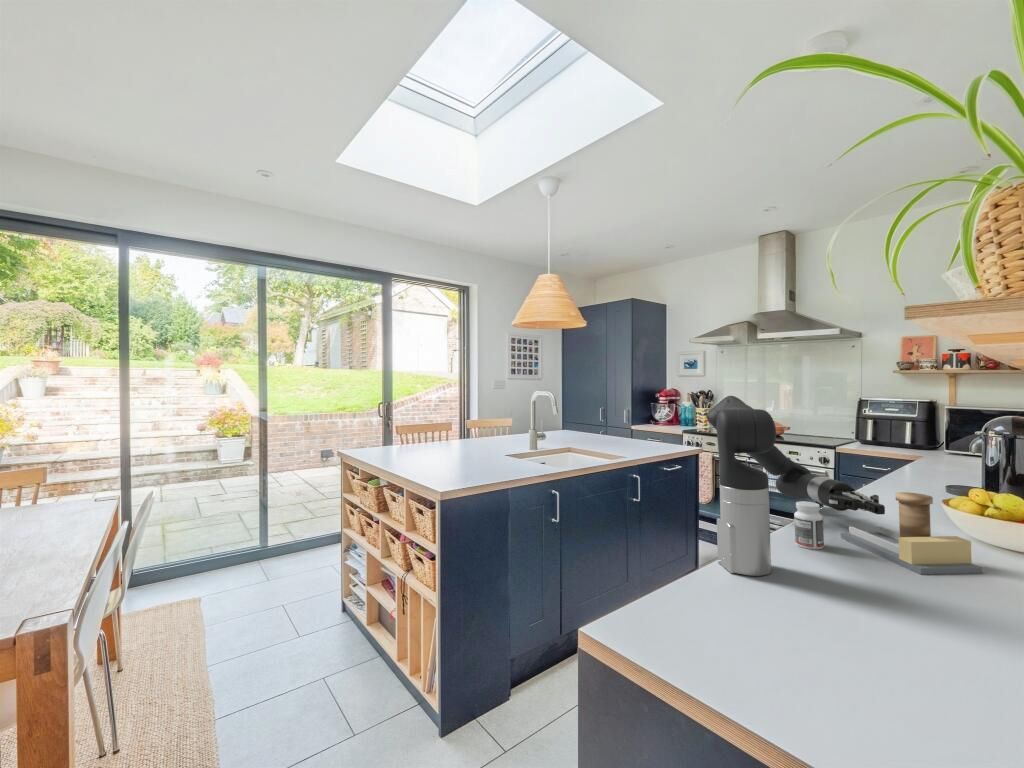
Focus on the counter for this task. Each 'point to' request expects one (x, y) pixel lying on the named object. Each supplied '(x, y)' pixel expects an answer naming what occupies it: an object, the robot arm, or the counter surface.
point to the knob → (914, 514)
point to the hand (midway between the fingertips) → (881, 510)
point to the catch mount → (918, 551)
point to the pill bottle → (808, 525)
